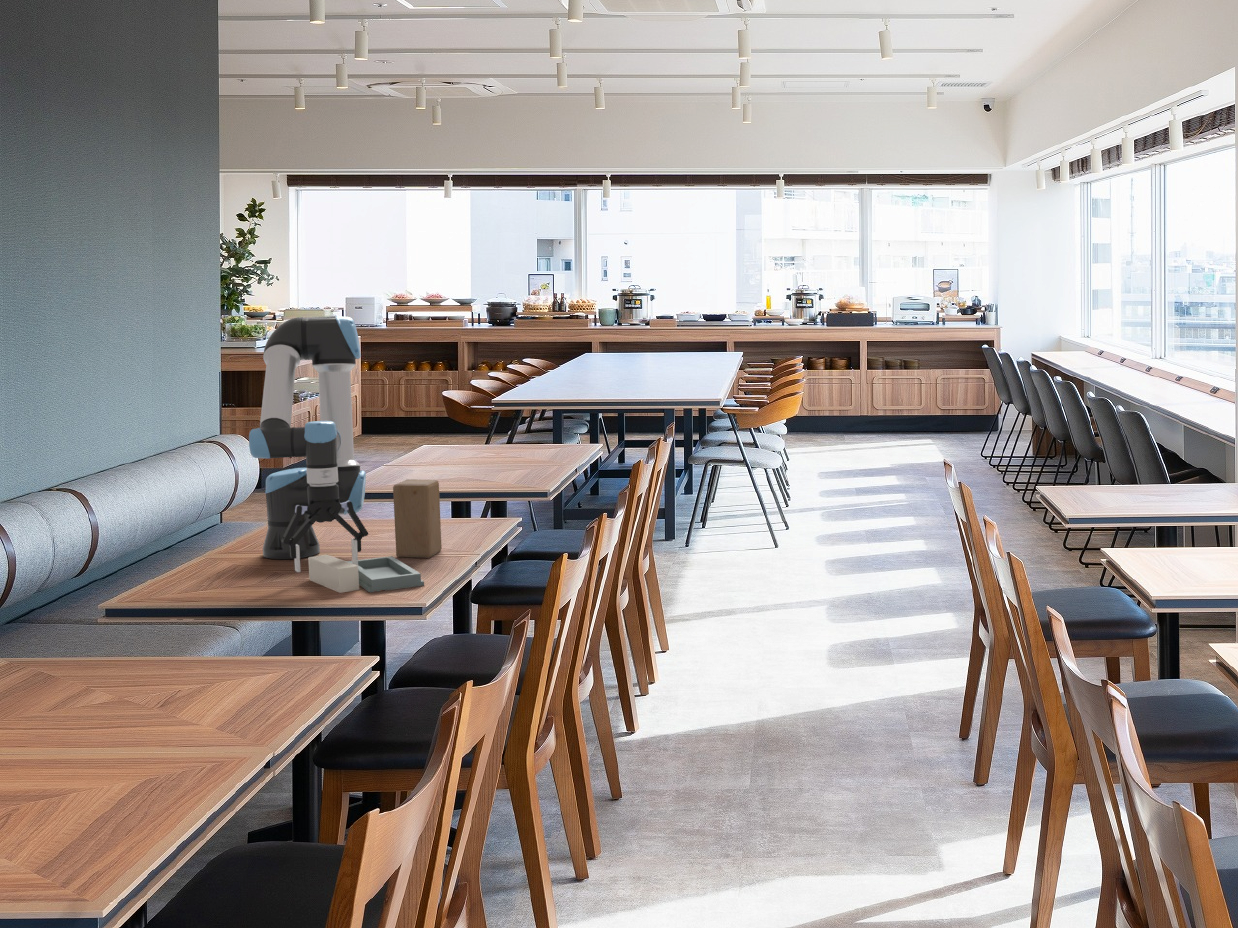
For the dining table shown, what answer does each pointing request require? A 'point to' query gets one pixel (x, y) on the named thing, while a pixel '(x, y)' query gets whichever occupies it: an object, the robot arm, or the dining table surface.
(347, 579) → the cream rectangular bar
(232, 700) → the dining table surface
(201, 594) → the dining table surface
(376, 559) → the tray
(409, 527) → the wooden block
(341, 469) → the robot arm
